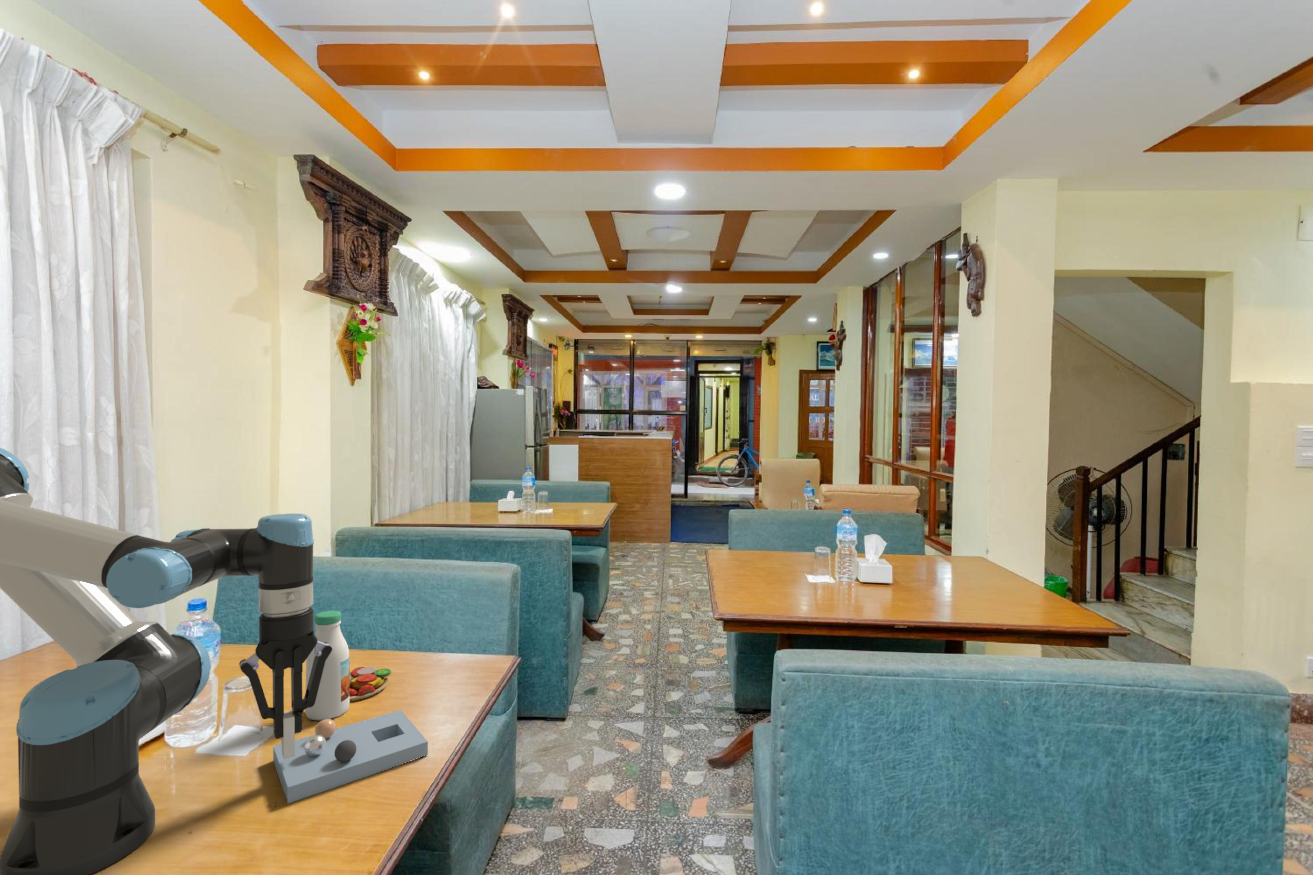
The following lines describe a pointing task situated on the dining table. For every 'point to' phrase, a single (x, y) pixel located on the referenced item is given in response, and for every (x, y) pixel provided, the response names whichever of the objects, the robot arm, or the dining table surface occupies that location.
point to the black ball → (345, 751)
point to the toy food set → (367, 682)
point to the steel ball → (315, 745)
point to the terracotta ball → (325, 728)
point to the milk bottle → (330, 669)
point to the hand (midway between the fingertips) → (288, 754)
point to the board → (375, 751)
